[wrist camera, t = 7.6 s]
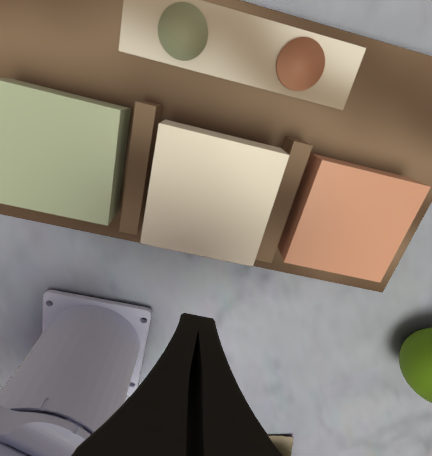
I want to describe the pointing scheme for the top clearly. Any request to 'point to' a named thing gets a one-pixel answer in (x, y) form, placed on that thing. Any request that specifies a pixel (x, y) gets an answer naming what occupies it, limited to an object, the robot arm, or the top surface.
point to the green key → (61, 152)
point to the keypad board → (229, 94)
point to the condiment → (283, 444)
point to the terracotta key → (349, 218)
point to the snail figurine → (418, 362)
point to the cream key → (210, 193)
